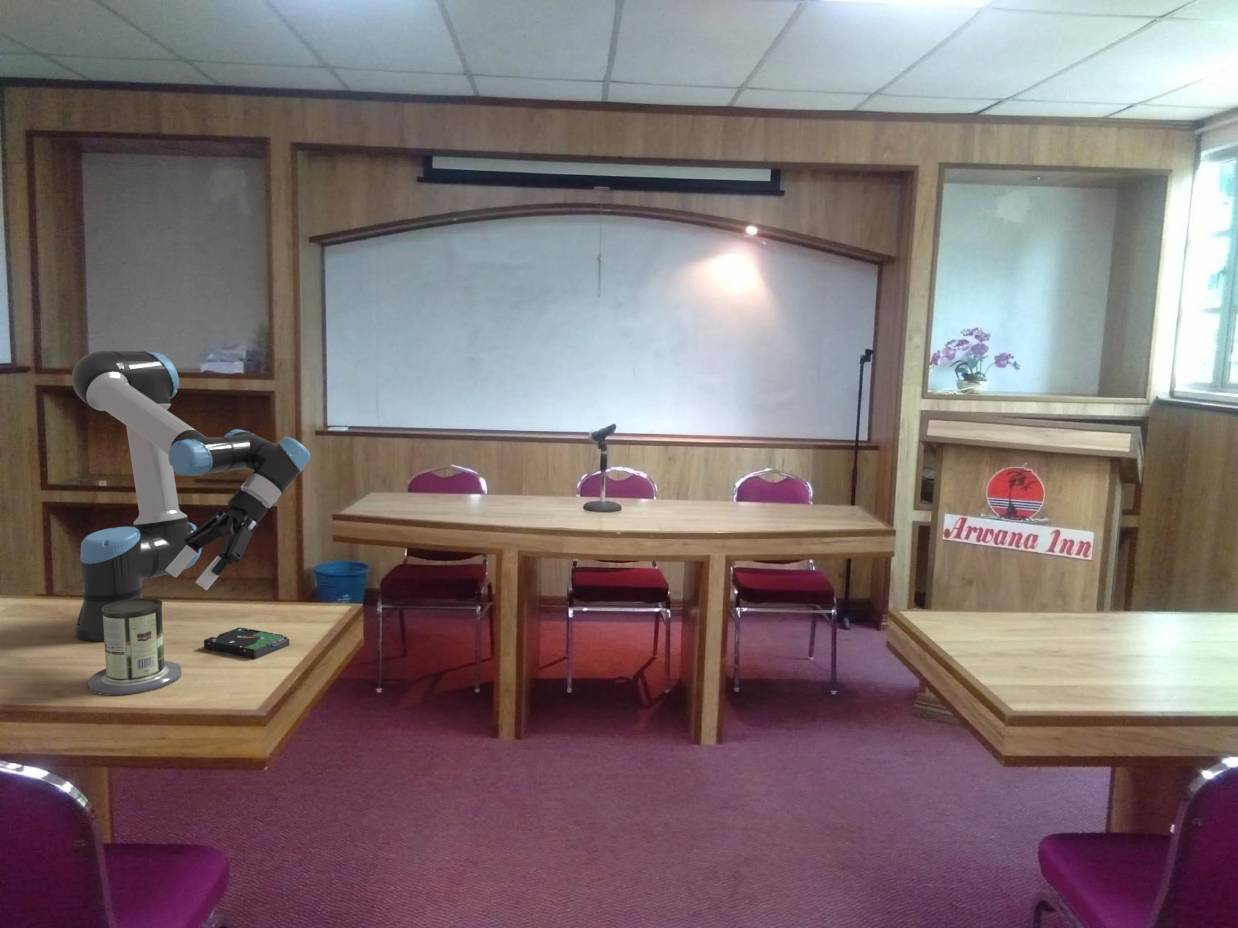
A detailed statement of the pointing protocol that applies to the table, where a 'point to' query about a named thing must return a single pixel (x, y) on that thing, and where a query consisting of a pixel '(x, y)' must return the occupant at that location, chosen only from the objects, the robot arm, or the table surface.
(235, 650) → the disk drive
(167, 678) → the grey flat disc
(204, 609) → the table surface
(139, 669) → the coffee can
